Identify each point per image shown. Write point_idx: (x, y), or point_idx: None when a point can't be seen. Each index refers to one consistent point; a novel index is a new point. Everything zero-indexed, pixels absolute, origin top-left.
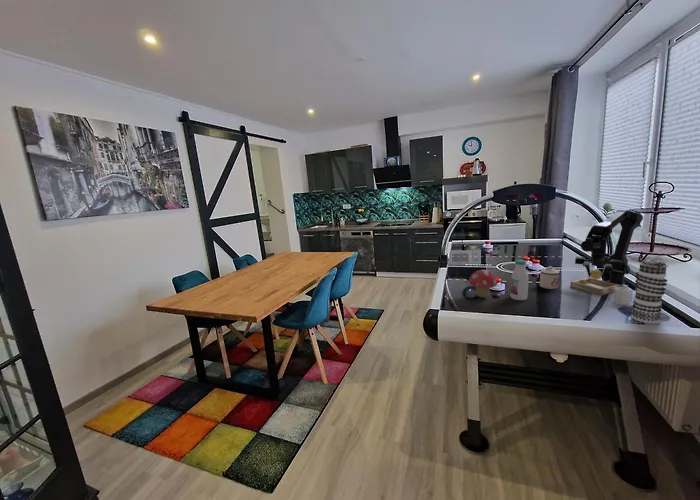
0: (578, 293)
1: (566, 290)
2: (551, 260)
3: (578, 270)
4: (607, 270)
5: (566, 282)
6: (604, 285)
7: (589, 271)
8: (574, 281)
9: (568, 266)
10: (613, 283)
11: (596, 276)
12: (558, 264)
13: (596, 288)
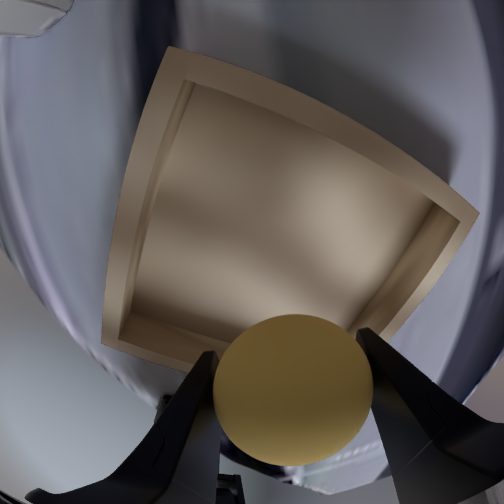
0: (375, 14)
1: (462, 69)
2: None
3: (351, 453)
4: (123, 464)
5: (450, 292)
6: (216, 342)
7: (405, 391)
8: (454, 241)
9: (376, 458)
10: (150, 358)
11: (280, 330)
12: None
13: (229, 66)
